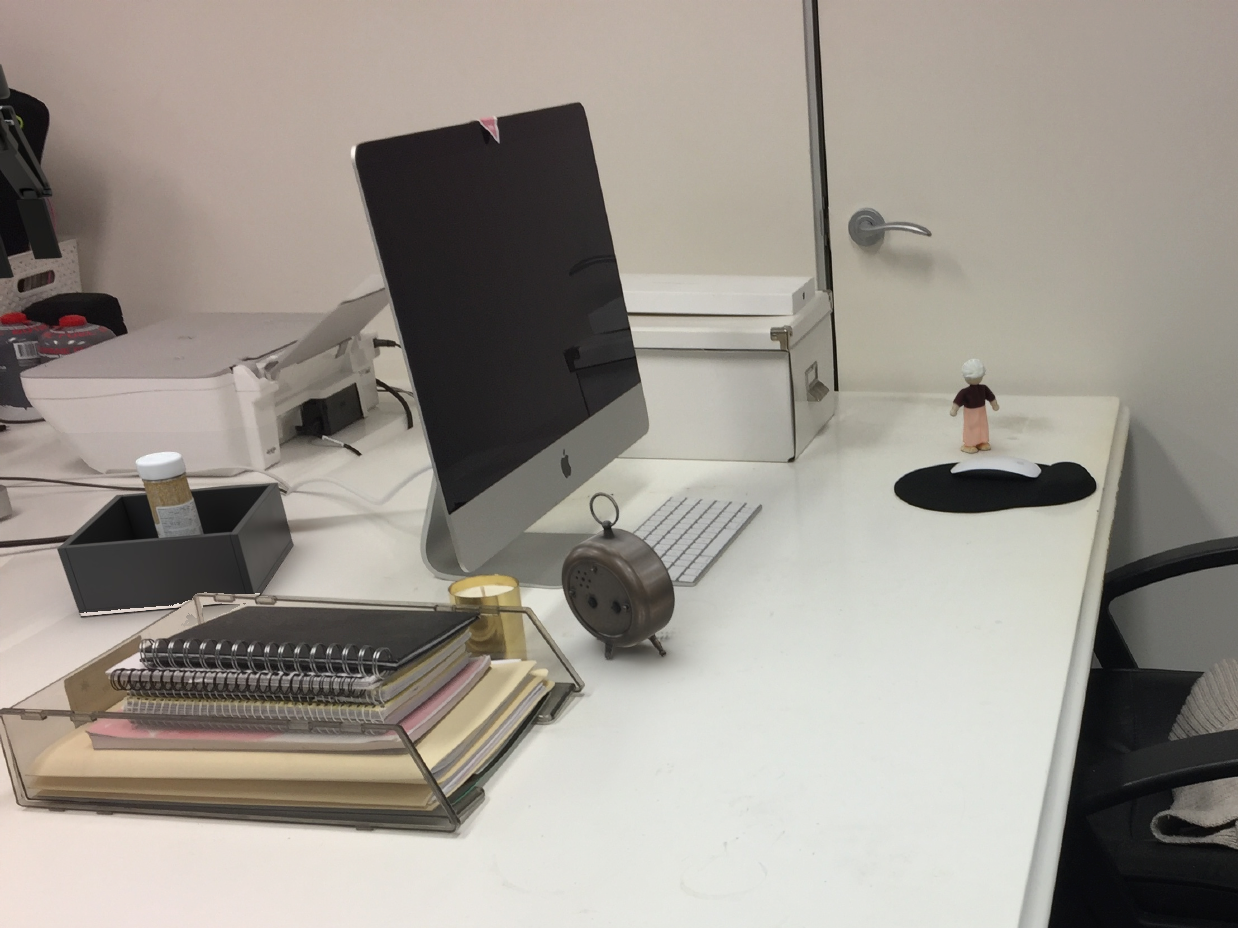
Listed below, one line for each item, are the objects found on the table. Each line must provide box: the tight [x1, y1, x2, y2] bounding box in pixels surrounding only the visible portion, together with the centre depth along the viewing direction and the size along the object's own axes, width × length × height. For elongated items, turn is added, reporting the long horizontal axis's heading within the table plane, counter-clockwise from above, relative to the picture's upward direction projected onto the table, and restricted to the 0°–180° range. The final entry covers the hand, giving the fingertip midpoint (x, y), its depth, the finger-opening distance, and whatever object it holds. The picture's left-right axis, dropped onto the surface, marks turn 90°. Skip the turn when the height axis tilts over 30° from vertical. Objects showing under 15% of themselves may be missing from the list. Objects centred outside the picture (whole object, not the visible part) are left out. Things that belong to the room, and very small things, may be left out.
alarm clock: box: [561, 491, 676, 660], centre depth 124 cm, size 11×5×16 cm, turn 59°
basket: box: [56, 482, 295, 614], centre depth 146 cm, size 18×18×8 cm
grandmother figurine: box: [949, 358, 1000, 454], centre depth 181 cm, size 8×4×13 cm, turn 130°
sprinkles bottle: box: [135, 451, 204, 538], centre depth 144 cm, size 5×5×14 cm
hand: (25, 268), depth 148 cm, fingers open, 13 cm apart
